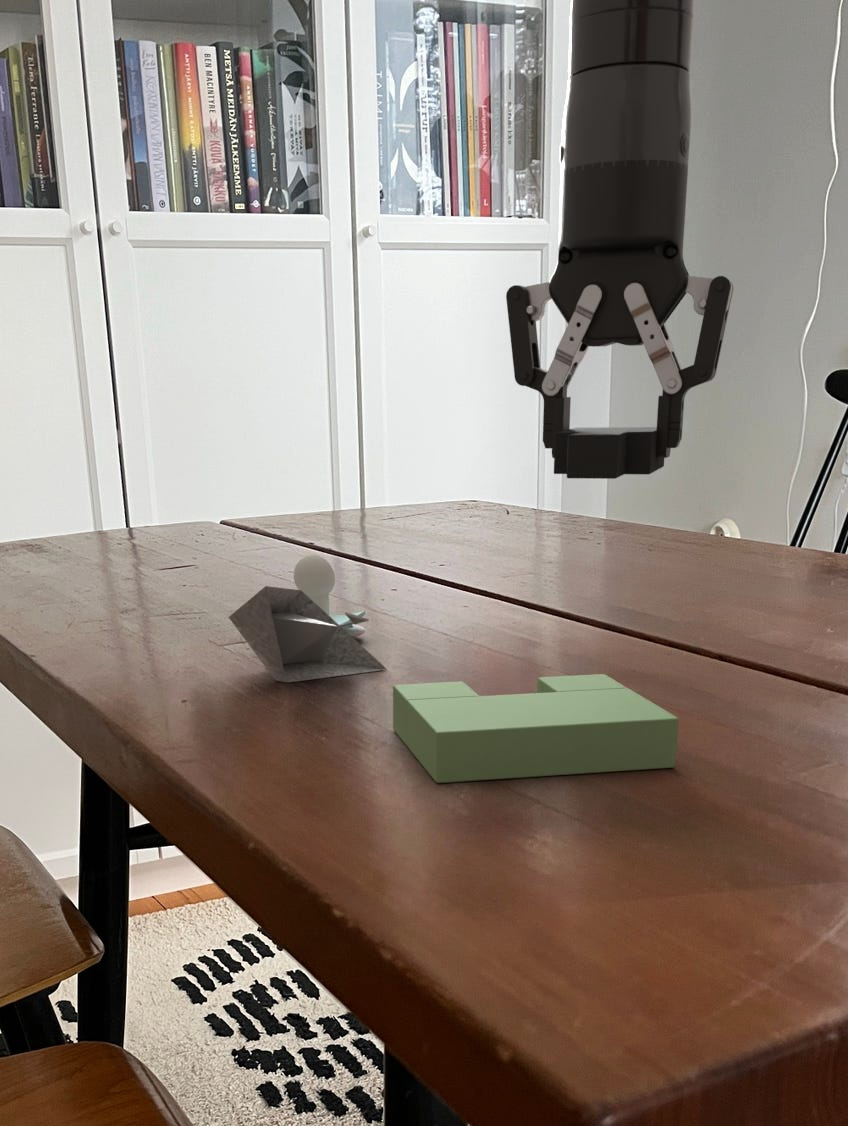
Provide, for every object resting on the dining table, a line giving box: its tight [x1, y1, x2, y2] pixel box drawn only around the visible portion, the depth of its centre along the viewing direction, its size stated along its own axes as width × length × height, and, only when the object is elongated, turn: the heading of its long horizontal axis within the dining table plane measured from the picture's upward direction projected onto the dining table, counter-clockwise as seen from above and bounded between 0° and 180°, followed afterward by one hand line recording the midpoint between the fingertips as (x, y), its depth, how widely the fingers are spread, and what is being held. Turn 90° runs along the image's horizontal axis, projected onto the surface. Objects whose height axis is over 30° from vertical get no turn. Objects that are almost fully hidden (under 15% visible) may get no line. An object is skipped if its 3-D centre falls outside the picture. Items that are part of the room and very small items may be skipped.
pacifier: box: [293, 554, 366, 638], centre depth 91 cm, size 7×6×6 cm
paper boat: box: [228, 585, 388, 684], centre depth 79 cm, size 12×6×9 cm
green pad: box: [392, 673, 680, 784], centre depth 65 cm, size 12×10×2 cm
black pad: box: [553, 426, 665, 480], centre depth 80 cm, size 6×10×2 cm, turn 161°
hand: (610, 456), depth 81 cm, fingers closed on black pad, 6 cm apart
